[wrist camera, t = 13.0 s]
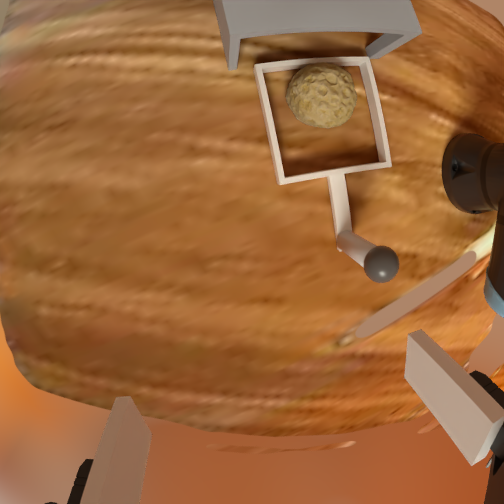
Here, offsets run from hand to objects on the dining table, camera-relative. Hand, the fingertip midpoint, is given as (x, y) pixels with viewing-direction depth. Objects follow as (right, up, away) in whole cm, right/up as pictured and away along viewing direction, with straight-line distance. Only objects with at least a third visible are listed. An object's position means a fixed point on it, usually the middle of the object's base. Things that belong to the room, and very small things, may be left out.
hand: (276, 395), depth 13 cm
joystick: (+11, +20, +31) cm, 39 cm away
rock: (+8, +29, +29) cm, 42 cm away
